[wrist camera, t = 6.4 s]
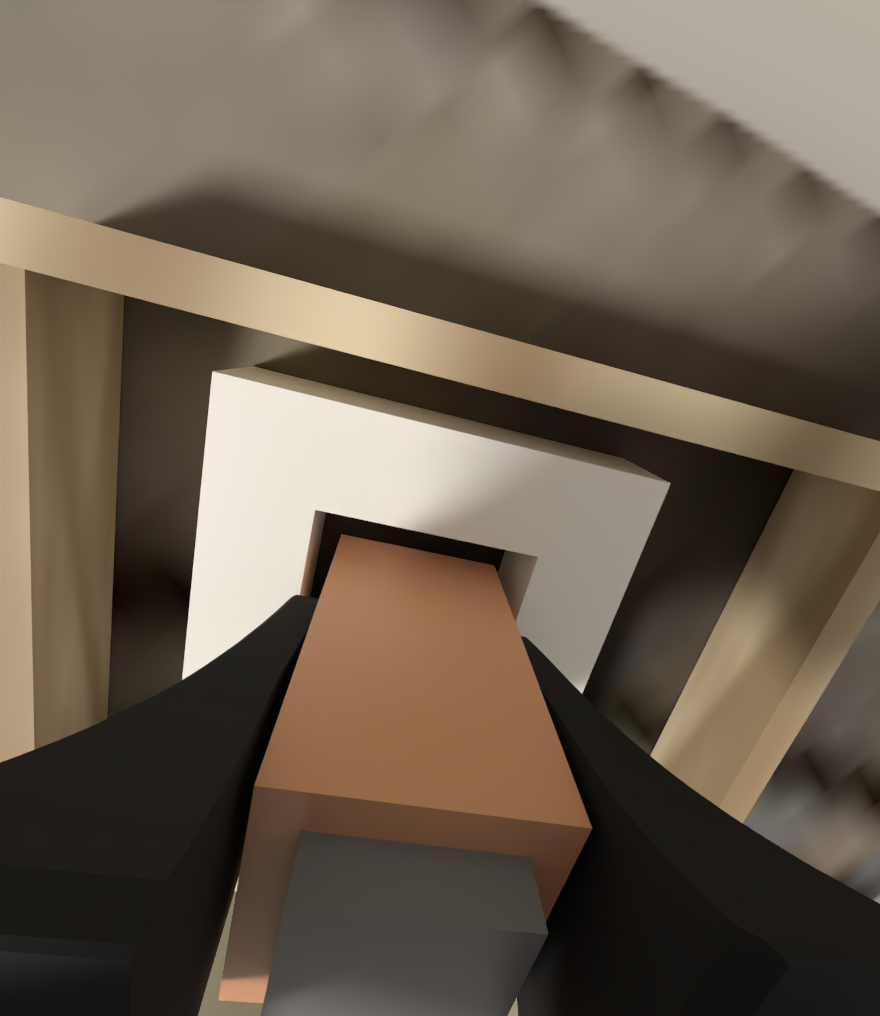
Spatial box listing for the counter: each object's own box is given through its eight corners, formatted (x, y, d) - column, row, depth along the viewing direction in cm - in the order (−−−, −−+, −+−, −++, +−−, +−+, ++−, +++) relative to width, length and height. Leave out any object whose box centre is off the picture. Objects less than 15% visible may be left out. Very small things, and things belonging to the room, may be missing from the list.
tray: (843, 438, 13) (962, 464, 10) (632, 841, 18) (674, 933, 15) (78, 229, 10) (-45, 184, 8) (72, 770, 15) (-5, 868, 12)
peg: (494, 565, 12) (620, 902, 5) (454, 687, 14) (509, 1100, 6) (341, 534, 12) (227, 862, 4) (315, 664, 13) (193, 1088, 6)
